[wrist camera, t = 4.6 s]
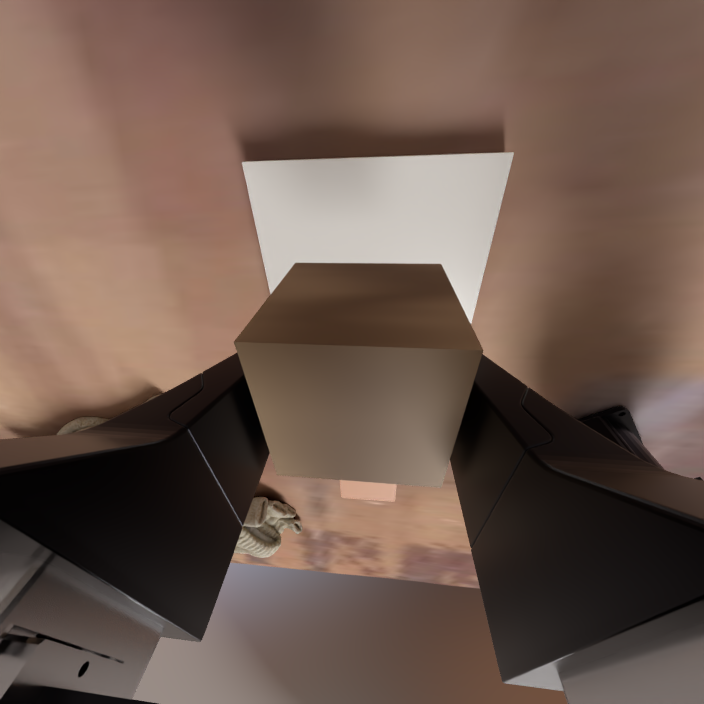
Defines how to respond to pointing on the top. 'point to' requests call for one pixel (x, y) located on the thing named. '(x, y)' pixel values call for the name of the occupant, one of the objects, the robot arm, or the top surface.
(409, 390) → the walnut block
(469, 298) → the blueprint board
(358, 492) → the terracotta block
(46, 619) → the robot arm
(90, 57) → the top surface
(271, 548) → the pair of gloves
